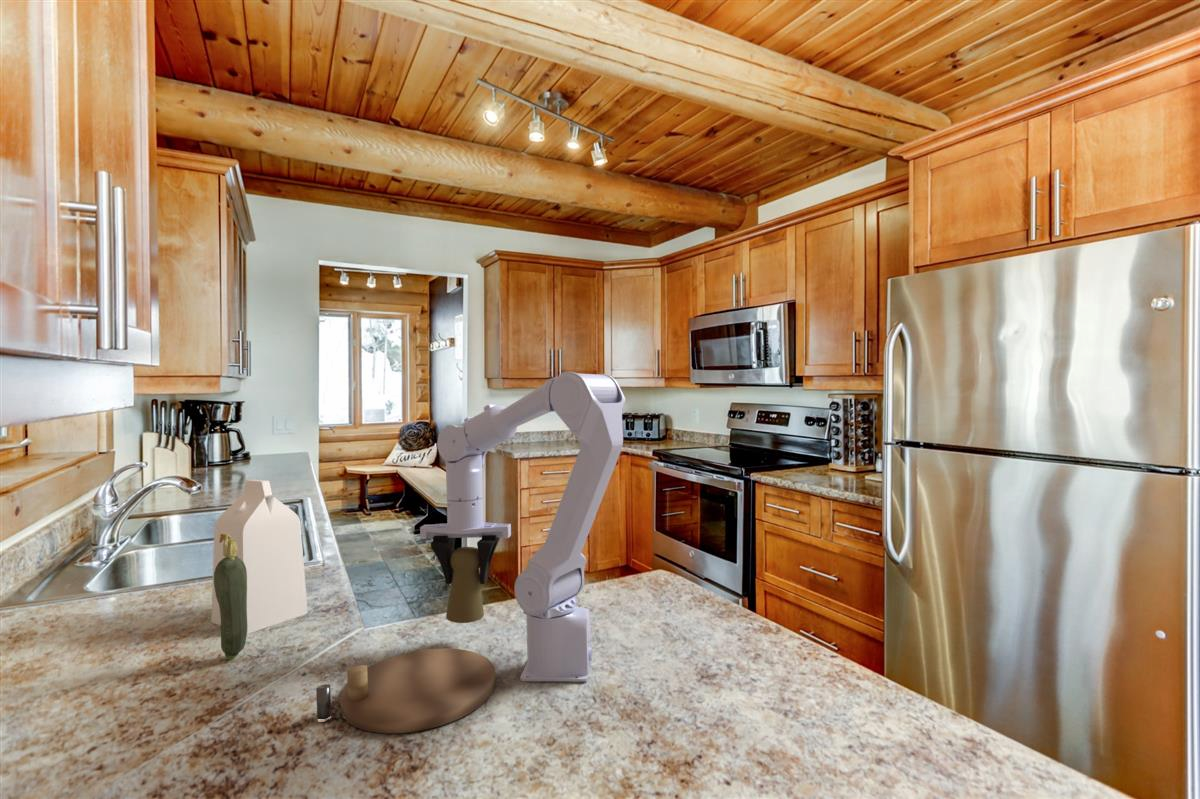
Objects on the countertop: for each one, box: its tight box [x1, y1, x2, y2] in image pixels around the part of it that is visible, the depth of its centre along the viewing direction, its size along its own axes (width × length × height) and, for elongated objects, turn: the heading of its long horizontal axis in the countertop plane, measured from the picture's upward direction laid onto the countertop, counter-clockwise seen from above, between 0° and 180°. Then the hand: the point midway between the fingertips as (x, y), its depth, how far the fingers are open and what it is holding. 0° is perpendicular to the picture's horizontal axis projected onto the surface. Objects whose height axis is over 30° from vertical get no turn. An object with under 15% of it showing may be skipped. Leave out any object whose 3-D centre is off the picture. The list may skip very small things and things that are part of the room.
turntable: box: [340, 648, 496, 734], centre depth 78 cm, size 20×20×5 cm
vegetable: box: [214, 533, 248, 661], centre depth 89 cm, size 4×4×20 cm
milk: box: [211, 478, 309, 635], centre depth 108 cm, size 12×12×26 cm
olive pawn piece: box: [445, 546, 485, 624], centre depth 93 cm, size 6×6×11 cm
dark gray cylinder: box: [315, 683, 332, 719], centre depth 77 cm, size 17×14×4 cm
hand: (467, 582), depth 93 cm, fingers closed on olive pawn piece, 5 cm apart
